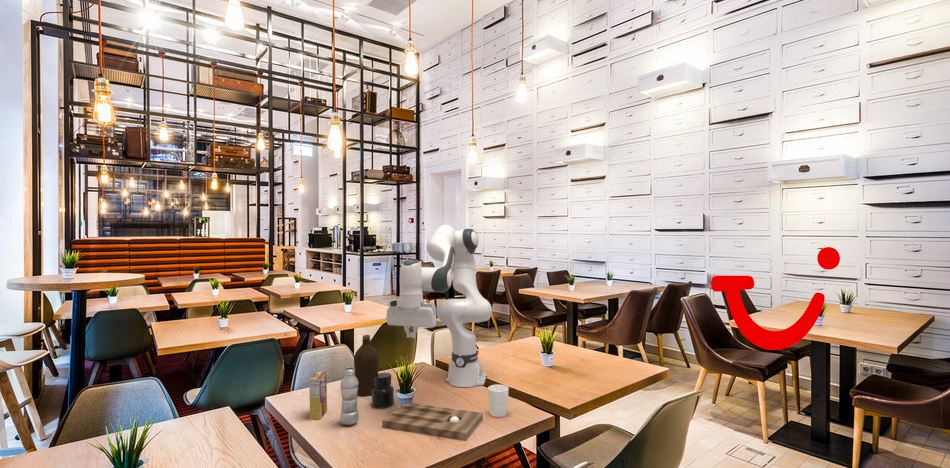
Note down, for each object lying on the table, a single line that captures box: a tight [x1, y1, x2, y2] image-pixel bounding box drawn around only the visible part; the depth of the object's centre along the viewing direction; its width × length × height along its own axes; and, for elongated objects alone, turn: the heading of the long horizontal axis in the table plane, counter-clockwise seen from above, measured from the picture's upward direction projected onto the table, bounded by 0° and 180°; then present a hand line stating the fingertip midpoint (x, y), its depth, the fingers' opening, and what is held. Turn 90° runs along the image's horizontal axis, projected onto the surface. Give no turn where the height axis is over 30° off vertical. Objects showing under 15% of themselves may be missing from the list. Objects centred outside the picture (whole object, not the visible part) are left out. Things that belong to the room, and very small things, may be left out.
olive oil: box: [353, 334, 380, 397], centre depth 195 cm, size 11×11×25 cm
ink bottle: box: [371, 372, 395, 409], centre depth 181 cm, size 10×9×12 cm
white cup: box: [487, 384, 509, 418], centre depth 172 cm, size 8×8×10 cm
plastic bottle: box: [339, 367, 360, 426], centre depth 163 cm, size 6×7×20 cm
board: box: [381, 402, 484, 441], centre depth 163 cm, size 32×18×4 cm, turn 71°
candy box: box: [308, 371, 328, 421], centre depth 171 cm, size 9×4×15 cm, turn 2°
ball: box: [449, 416, 459, 423], centre depth 160 cm, size 4×4×4 cm
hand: (411, 337), depth 173 cm, fingers closed
